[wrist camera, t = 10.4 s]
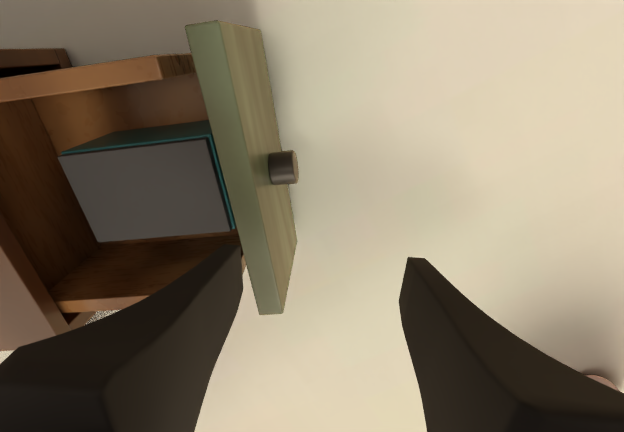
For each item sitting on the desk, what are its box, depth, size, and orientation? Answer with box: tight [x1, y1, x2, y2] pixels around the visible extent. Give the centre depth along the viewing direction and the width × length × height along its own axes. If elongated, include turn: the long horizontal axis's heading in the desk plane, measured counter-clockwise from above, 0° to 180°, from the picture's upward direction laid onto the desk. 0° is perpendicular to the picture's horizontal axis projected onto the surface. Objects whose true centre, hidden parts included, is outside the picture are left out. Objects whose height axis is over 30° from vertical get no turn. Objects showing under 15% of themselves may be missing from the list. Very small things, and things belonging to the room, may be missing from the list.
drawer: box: [0, 20, 298, 315], centre depth 17 cm, size 15×12×7 cm
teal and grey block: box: [57, 120, 236, 242], centre depth 17 cm, size 7×5×4 cm, turn 97°
